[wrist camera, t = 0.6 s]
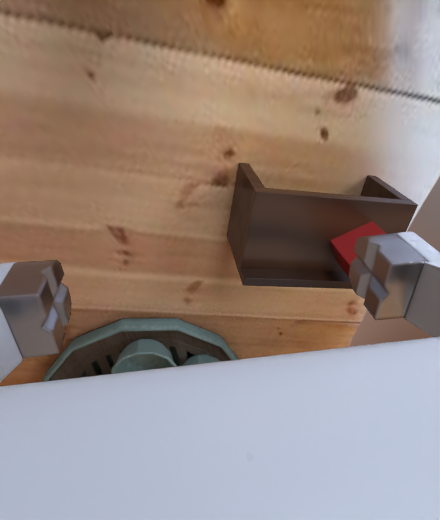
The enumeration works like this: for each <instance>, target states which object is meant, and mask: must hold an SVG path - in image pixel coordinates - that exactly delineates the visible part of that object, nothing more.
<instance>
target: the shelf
mask: <svg viewBox="0 0 440 520" xmlns="http://www.w3.org/2000/svg"><path fill="white" fill-rule="evenodd" d="M417 206H418V205H417V204H416V203H414V202H413V201H412V200H410V199H408V198H407V197H405V196H404V195H403V194H401V193H400V192H398V191H397V190H395V189H394V188H392V187H391V186H389V185H388V184H387V183H385V182H384V181H382V180H381V179H379V178H378V177H376V176H369V175H368V176H367V179H366V182H365V184H364V187H363V190H362V193H361V195H360V196H353V195H341V194H329V193H317V192H305V191H294V190H282V189H270V188H264V186H263V185H262V183H261V182H260V180H259V178H258V177H257V175H256V174H255V172H254V171H253V169H252V168H251V166H250V165H249V164H245V163H239V166H238V172H237V178H236V184H235V190H234V196H233V202H232V208H231V214H230V220H229V226H228V232H227V238H228V241H229V244H230V247H231V250H232V253H233V256H234V260H235V263H236V266H237V269H238V272H239V275H240V278H241V281H242V284H243V285H247V286H279V287H312V288H345V289H352V286H351V284H350V279H349V277H348V276H347V274H346V273H345V272H344V271H343V269H342V268H341V267H340V265H339V264H338V263H337V260H336V257H335V254H334V251H333V248H332V245H331V242H330V240H332V239H334V238H337V237H339V236H341V235H343V234H345V233H347V232H350V231H352V230H354V229H356V228H358V227H360V226H363V225H365V224H367V223H369V222H371V221H373V222H374V223H375V224H376V225H377V226H378V227H379V228H380V229H382V230H383V231H384V232H385V233H386V234H391V233H400V232H406V230H407V228H408V226H409V223H410V221H411V219H412V217H413V215H414V212H415V210H416V208H417Z"/></svg>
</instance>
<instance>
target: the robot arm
mask: <svg viewBox="0 0 440 520" xmlns="http://www.w3.org/2000/svg"><path fill="white" fill-rule="evenodd" d="M354 252H355V253H356V255H357V257H356V258H355V259H354V260H353V261H352V263H351V264H350V270H349V279H350V284H351V286H352V289H353V290H354V292H355V293H356V294H357V295H359V296H361V297H362V298H364V299H365V301H364V305H365V307H366V308H367V309H368V311H369V312H370V314H371V315H372V316H373V318H374V319H375V320H383V319H395V318H405V320H407V321H409V322H410V323H412V324H414V325H415V326H417V327H419V328H420V329H421V330H423V331H424V332H426V333H428V334H429V335H431V336H432V337H433V338H424V339H415V340H406V341H399V342H389V343H380V344H371V345H363V346H354V347H345V348H336V349H328V350H319V351H310V352H301V353H292V354H284V355H275V356H266V357H257V358H248V359H240V360H231V361H222V362H213V363H204V364H195V365H187V366H178V367H169V368H160V369H151V370H143V371H134V372H125V373H116V374H107V375H99V376H90V377H81V378H72V379H63V380H54V381H46V382H37V383H28V384H19V385H10V386H2V387H0V520H440V253H439V252H438V251H437V250H435V249H434V248H433V247H432V246H431V245H429V244H428V243H427V242H425V241H424V240H423V239H422V238H420V237H419V236H418V235H417V234H415V233H414V232H400V233H391V234H382V235H372V236H363V237H358V239H357V241H356V243H355V247H354ZM63 276H64V272H63V269H62V266H61V263H60V262H59V261H58V260H46V261H29V262H17V263H16V262H11V263H0V382H1V381H2V380H3V379H4V378H5V377H6V376H7V375H8V374H9V373H10V372H11V371H12V370H13V369H15V368H16V367H17V366H18V365H19V364H20V363H21V362H22V361H23V358H29V357H36V356H44V355H52V354H59V352H60V349H61V346H62V343H63V339H64V336H65V332H64V329H63V327H64V326H65V325H66V324H67V323H68V322H69V320H70V316H71V296H70V292H69V289H68V287H67V286H65V285H64V284H63V283H62V282H61V281H62V279H63Z"/></svg>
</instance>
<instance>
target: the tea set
mask: <svg viewBox="0 0 440 520" xmlns="http://www.w3.org/2000/svg"><path fill="white" fill-rule="evenodd" d="M231 360H239V359H238V358H237V356H236V355H235V354H234V352H233V351H232V350H231V349H230V347H229V346H228V345H227V344H226V342H225V341H224V340H223V339H222V337H221V336H220V335H218V334H215V333H213V332H210V331H208V330H205V329H203V328H200V327H197V326H195V325H192V324H190V323H187V322H185V321H182V320H180V319H177V318H149V319H121V320H119V321H116V322H114V323H111V324H109V325H106V326H104V327H101V328H99V329H96V330H94V331H91V332H89V333H86V334H84V335H82V336H79V337H77V338H75V339H74V340H73V341H72V342H71V343H70V344H69V346H68V347H67V348H66V349H65V350H64V351H63V353H62V354H61V355H60V356H59V357H58V359H57V360H56V361H55V362H54V363H53V365H52V366H51V367H50V368H49V369H48V371H47V372H46V373H45V376H44V379H43V382H46V381H54V380H63V379H72V378H81V377H90V376H99V375H107V374H116V373H125V372H134V371H143V370H151V369H160V368H169V367H178V366H187V365H195V364H204V363H213V362H222V361H231Z"/></svg>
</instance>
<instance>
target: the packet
mask: <svg viewBox="0 0 440 520" xmlns="http://www.w3.org/2000/svg"><path fill="white" fill-rule="evenodd" d="M382 234H386V233H385V232H384V231H383V230H382V229H380V228H379V227H378V226H377V225H376V224H375V223H374V222H373V221H371V222H369V223H367V224H365V225H363V226H360V227H358V228H356V229H354V230H352V231H350V232H347V233H345V234H343V235H341V236H339V237H337V238H334V239H332V240H330V242H331V245H332V248H333V251H334V254H335V257H336V260H337V263H338V264H339V265H340V267H341V268H342V269H343V271H344V272H345V273H346V274H347V276H348V277H349V270H350V264H351V263H352V261H353V260H354V259H355V258H356V257H357V255H356V253H355V252H354V247H355V243H356V241H357V239H358V237H363V236H372V235H382Z"/></svg>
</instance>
